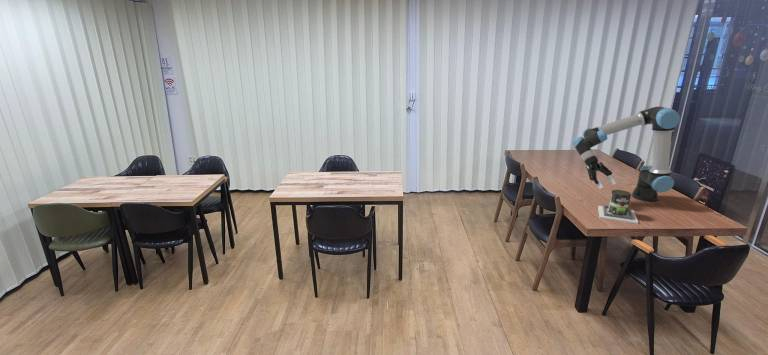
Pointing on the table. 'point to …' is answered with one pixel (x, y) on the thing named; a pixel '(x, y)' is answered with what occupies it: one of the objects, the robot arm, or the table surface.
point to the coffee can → (619, 202)
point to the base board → (605, 215)
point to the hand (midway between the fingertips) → (608, 186)
